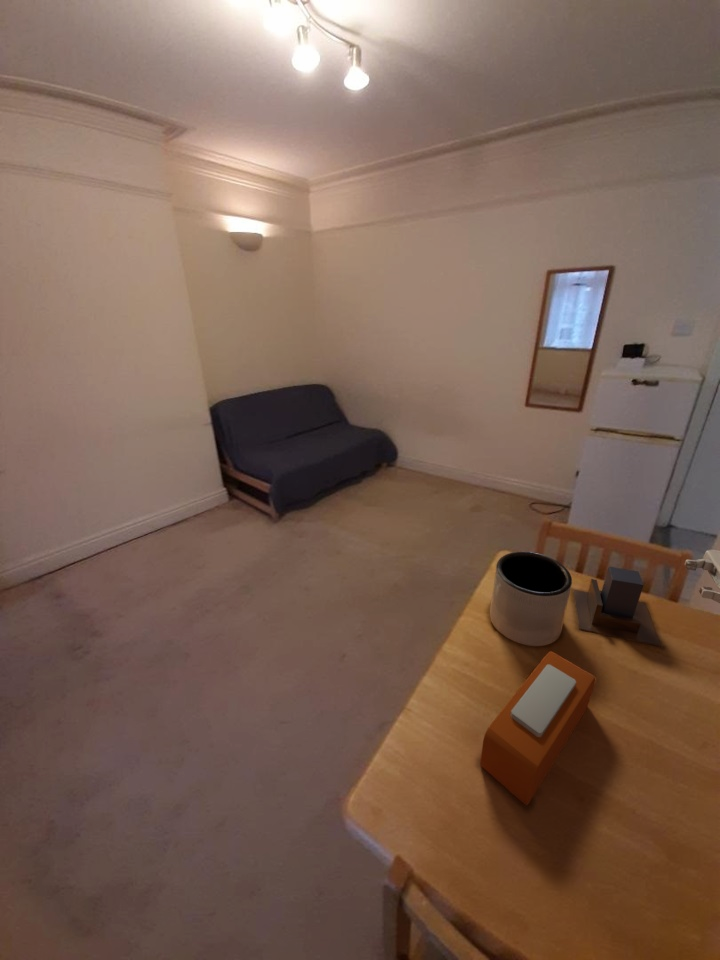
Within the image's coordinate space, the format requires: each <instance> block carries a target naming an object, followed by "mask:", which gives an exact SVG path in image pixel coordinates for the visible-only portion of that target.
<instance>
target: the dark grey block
mask: <svg viewBox="0 0 720 960" xmlns="http://www.w3.org/2000/svg"><path fill="white" fill-rule="evenodd" d="M601 588H602V589H601V591H602V592H601V600H602V604H603V608H602V611H601V613H606V614H611V615H616V616H621V617H626V618H631V619H633V616H634V613H635V610H636V607H637V604H638V601H639V602H640V597H641V595H642V591H643V589H644V582H643V580H642V577H641V575H640V572H639V570H633V569H628V568H622V567H621V568H620V567H614V566H607V571H606V575H605V577H604V582H603V585H602V587H601Z"/></svg>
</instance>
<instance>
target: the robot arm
mask: <svg viewBox="0 0 720 960" xmlns="http://www.w3.org/2000/svg"><path fill="white" fill-rule="evenodd" d="M684 567H685V569H686V570H688V571H694V572H695V571H696V570H697V569H702V570H703V571H706V572H708V574H709V575H710V577H711V579H712V580H713V582H714V583H715V585H716V586H717V588H718V590H719V591H718V590H715V589H713V587H709V586H704V585H703V586H701V587H700V588H699V590H698V592H699V594H700V596H701V597H702V598H704V599H708V600H709V599H710V600H712V601H714V602H716V603H718V604H720V550H718V549H708V550H706V551H705V553H704V555H703V557H702V558H700V559H690V558H689V559H686V560H685V561H684Z"/></svg>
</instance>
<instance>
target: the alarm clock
mask: <svg viewBox="0 0 720 960" xmlns="http://www.w3.org/2000/svg"><path fill="white" fill-rule="evenodd" d="M595 684H596V677H595V675H594V674H592V673H590V672H588V671H586V670H585V669H583V668H581V667H579V666H577V665H576V664H574V663H573V662H571V661H569V660H567V659H566V658H564V657H562V656H560V655H559V654H557V653H556V652H553V651H548V652H547V653H546V655H544V657H543V658H542V659H541V660H540V662H539V663H538V664H537V666H536V667H534V669H533V671H532V672H531V674H529V675H528V677H527V678H526V679H525V681H524V682H522V684H521V686H520V687H519V688H518V689H517V690H516V692H515V693H514V694H513V696H511V698H510V700H509V701H508V702H507V703H506V704H505V706H504V707H503V708H502V709H501V711H500V712H499V713H498V714H497V716H496V717H495V718H494V719H493V721H492V722H491V723H490V725H489V726H488V727H487V729H486V731H485V733H484V736H483V739H482V740H483V741H482V748H481V756H480V762H479V763H480V767H481V768H482V769H484V770H485V771H486V772H487V773H488V774H489V775H491V776H492V777H493V778H494V779H495V780H496V781H497V782H499V783H500V784H501V785H502V786H503V787H504V788H505V789H506V790H507V791H509V792H510V793H511V794H512V795H513V796H514V797H516V798H517V800H519V801H520V802H521V803H522V804H523V805H525V806H528V805H529V804H530V802H531V800H532V799H533V798H534V796H535V794H536V792H537V791H538V789H539V787H540V786H541V784H542V783H543V781H544V779H545V778H546V776H547V775H548V773H549V771H550V770H551V768H552V766H553V765H554V763H555V762H556V760H557V758H558V757H559V755H560V753H561V752H562V750H563V749H564V747H565V745H566V744H567V742H568V740H569V739H570V737H571V735H572V733H573V732H574V730H575V729H576V726H578V724H579V723H580V721H581V719H582V717H583V716H584V714H585V712H586V711H587V709H588V707H589V704H590V701H591V697H592V694H593V690H594V688H595Z"/></svg>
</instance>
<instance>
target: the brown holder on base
mask: <svg viewBox="0 0 720 960" xmlns="http://www.w3.org/2000/svg"><path fill="white" fill-rule="evenodd" d="M601 592H602V589H600V587H599V583H598V579H595V578H591V579H590V583H589V587H588V591H582V590H579V589H578V590H577V589H573V590H572V593H573V598H574V599H573V600H574V605H575V606H574V607H575V613H576V616H577V617H576V618H577V619H576V620H577V623H578V625H577V626H578V630H580V631H584V632H589V633H594V634H599V635H603V636H607V637H613V638H617V639H622V640H627V641H632V642H636V643H641V644H642V643H643V644H646V645H649V646H656V647H660V648H661V647H662V644H661V642H660V641H661V640H660V638H659V636H658V633H657V630H656V627H655V625H654V622H653V619H652V617H651V614H650V612H649V609H648V607H647V604H646V602H644V601H640V600H639V601H638V604H637V607H636V610H635V613H634V616H633V619H631V618H626V617H621V616H616V615H611V614H606V613H601V611H602V608H603V604H602V600H601Z"/></svg>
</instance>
